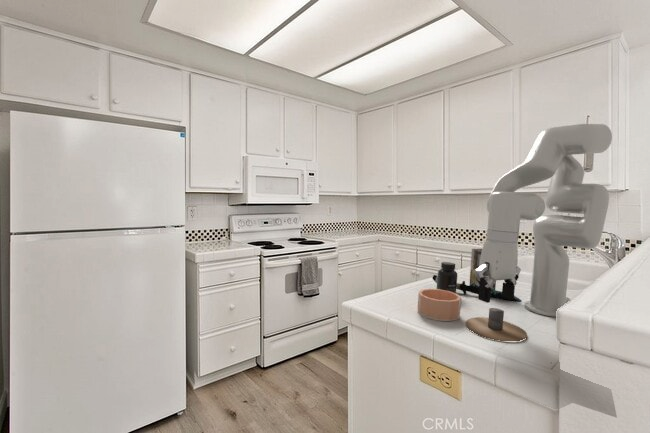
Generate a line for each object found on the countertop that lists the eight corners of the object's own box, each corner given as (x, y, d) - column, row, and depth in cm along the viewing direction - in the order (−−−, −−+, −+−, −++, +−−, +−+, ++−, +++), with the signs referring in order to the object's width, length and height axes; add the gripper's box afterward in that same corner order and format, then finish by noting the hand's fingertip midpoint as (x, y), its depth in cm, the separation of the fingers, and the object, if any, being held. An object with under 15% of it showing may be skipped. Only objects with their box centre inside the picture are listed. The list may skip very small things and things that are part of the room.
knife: (430, 285, 127) (432, 274, 127) (432, 283, 130) (434, 272, 129) (520, 310, 112) (522, 298, 112) (520, 308, 115) (522, 296, 114)
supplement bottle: (452, 299, 115) (455, 266, 114) (433, 295, 119) (435, 263, 119) (458, 295, 121) (460, 263, 120) (439, 291, 125) (441, 260, 124)
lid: (488, 317, 100) (490, 298, 100) (539, 338, 87) (541, 316, 86) (453, 324, 94) (455, 304, 93) (502, 348, 80) (504, 324, 80)
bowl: (438, 304, 109) (439, 287, 109) (467, 318, 98) (469, 298, 98) (410, 309, 104) (411, 291, 103) (438, 323, 93) (439, 303, 92)
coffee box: (495, 295, 123) (499, 252, 121) (478, 294, 123) (481, 252, 121) (484, 287, 132) (487, 248, 130) (468, 287, 132) (471, 247, 131)
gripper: (509, 235, 95) (503, 293, 96) (468, 235, 88) (462, 297, 89) (535, 239, 89) (529, 301, 90) (493, 239, 81) (486, 307, 82)
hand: (495, 299), depth 89 cm, fingers open, 9 cm apart
